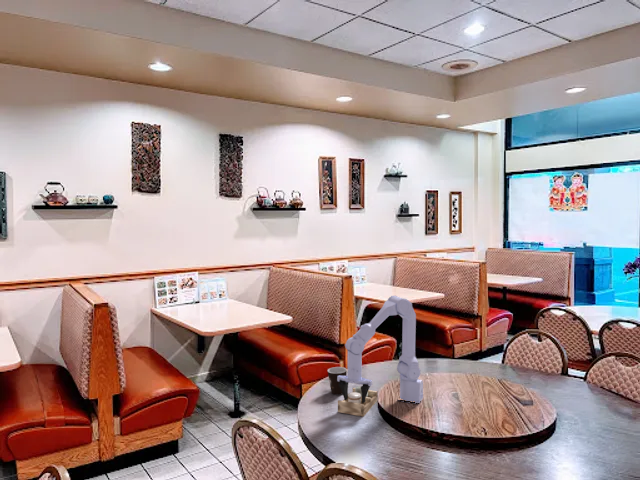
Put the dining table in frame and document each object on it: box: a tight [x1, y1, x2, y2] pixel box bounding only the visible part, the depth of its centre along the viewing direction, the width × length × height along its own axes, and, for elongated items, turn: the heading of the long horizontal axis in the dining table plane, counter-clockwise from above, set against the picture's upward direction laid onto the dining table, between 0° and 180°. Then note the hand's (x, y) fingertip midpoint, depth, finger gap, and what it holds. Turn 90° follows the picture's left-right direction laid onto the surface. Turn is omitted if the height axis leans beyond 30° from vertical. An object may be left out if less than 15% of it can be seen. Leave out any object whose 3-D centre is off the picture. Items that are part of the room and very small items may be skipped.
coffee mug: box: [327, 366, 348, 396], centre depth 222 cm, size 12×9×10 cm
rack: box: [337, 385, 379, 417], centre depth 204 cm, size 11×17×6 cm, turn 154°
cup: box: [348, 391, 361, 404], centre depth 200 cm, size 5×5×6 cm
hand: (354, 400), depth 200 cm, fingers open, 7 cm apart
